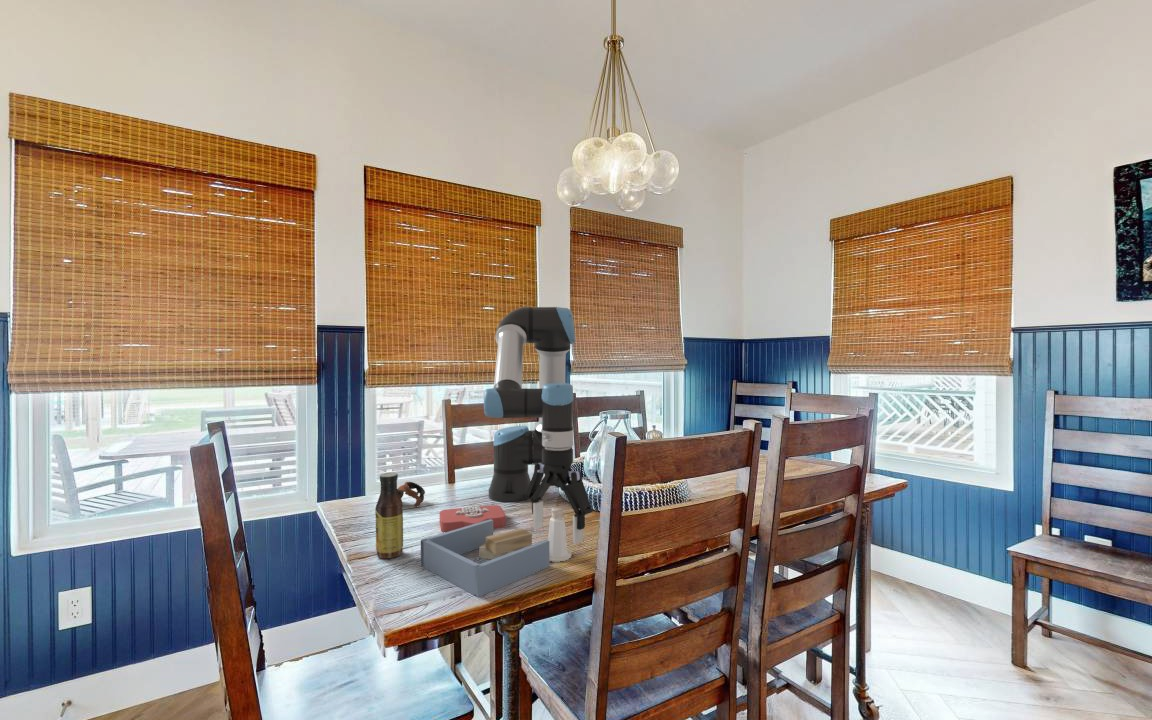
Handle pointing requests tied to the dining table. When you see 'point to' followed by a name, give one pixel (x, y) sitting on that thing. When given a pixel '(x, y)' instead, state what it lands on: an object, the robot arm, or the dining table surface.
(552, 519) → the pepper shaker
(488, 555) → the birch offcut
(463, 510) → the plaque
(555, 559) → the stone coaster
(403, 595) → the dining table surface
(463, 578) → the tray
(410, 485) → the coiled leather belt
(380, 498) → the sauce bottle
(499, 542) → the oak offcut
